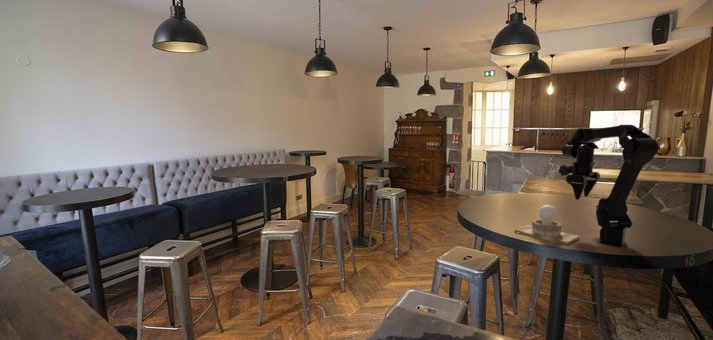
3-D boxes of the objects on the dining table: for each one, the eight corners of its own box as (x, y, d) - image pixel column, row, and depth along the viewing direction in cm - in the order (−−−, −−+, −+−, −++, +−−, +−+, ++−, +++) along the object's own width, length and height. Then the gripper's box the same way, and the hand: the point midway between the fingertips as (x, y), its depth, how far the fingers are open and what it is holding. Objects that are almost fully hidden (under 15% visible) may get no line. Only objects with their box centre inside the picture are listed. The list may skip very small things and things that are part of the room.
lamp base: (578, 238, 128) (579, 225, 127) (567, 244, 121) (568, 231, 120) (527, 227, 142) (528, 215, 142) (514, 232, 136) (515, 220, 135)
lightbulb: (547, 236, 128) (549, 207, 126) (533, 231, 133) (535, 204, 132) (558, 234, 130) (560, 205, 128) (544, 229, 135) (546, 202, 134)
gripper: (571, 157, 148) (569, 192, 150) (553, 159, 136) (550, 197, 138) (601, 158, 139) (598, 196, 141) (584, 161, 128) (581, 202, 130)
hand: (581, 197), depth 138 cm, fingers open, 9 cm apart
